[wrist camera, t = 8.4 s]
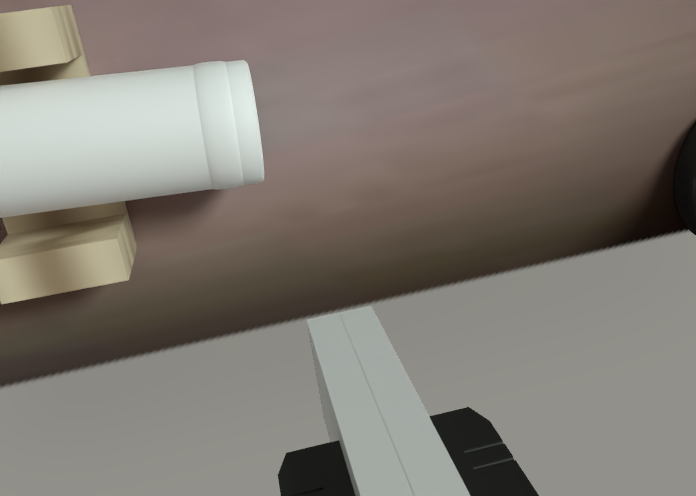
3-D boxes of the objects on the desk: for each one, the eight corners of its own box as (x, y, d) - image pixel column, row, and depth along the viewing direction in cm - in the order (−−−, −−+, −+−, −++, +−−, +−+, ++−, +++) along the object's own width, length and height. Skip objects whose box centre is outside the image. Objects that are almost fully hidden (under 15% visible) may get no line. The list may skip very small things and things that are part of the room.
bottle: (264, 195, 45) (-215, 261, 40) (247, 88, 46) (-223, 140, 41) (265, 163, 37) (-329, 242, 32) (244, 35, 38) (-336, 93, 33)
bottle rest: (71, 4, 41) (51, 6, 36) (137, 246, 48) (128, 280, 42) (-62, 21, 40) (-104, 27, 35) (25, 267, 47) (1, 304, 41)
